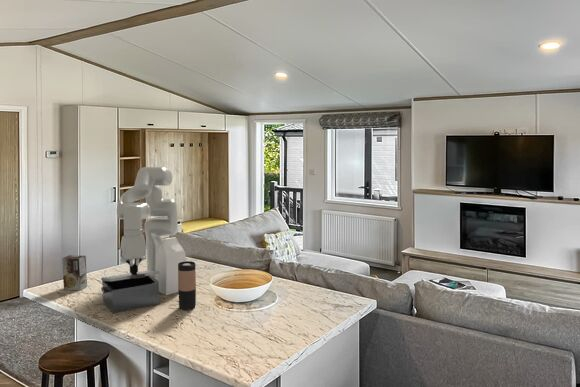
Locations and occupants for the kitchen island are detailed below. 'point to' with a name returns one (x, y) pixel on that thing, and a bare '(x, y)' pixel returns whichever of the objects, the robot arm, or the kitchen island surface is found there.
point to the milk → (169, 265)
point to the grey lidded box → (130, 293)
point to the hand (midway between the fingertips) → (133, 274)
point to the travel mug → (187, 285)
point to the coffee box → (74, 272)
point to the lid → (130, 276)
